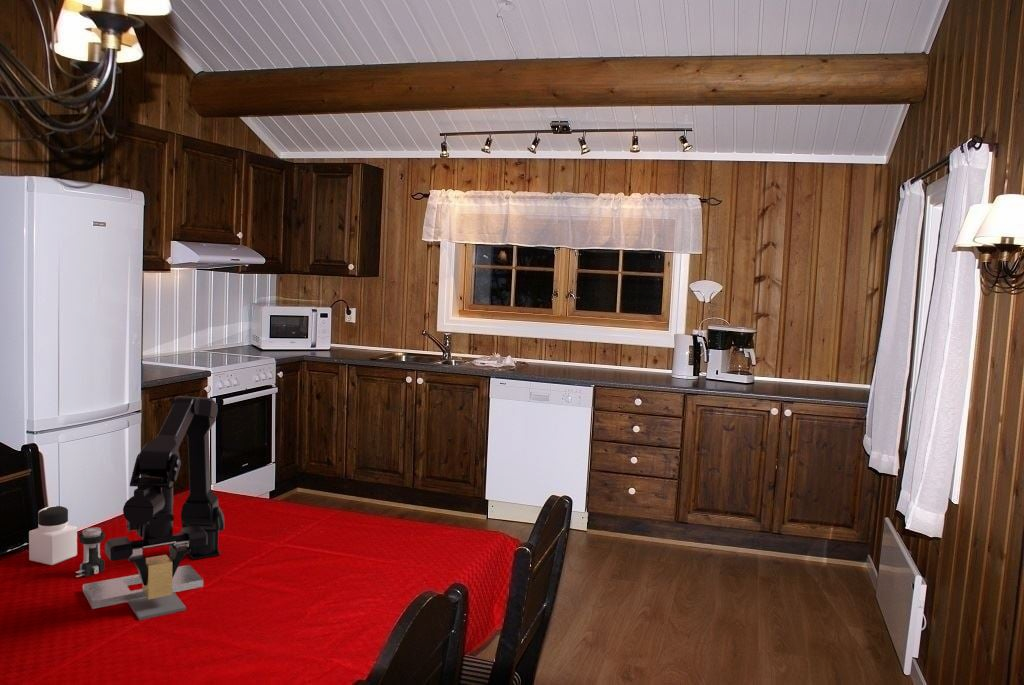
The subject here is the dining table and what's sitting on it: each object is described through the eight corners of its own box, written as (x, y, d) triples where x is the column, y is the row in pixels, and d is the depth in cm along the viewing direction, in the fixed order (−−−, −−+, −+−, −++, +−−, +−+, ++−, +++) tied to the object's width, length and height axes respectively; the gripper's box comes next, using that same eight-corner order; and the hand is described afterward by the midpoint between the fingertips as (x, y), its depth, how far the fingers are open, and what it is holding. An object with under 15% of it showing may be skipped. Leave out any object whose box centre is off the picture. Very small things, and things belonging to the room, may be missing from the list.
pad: (173, 594, 174) (173, 591, 174) (186, 610, 167) (186, 607, 167) (128, 603, 168) (128, 600, 168) (139, 620, 161) (139, 617, 161)
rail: (189, 571, 186) (189, 564, 186) (203, 586, 179) (203, 579, 178) (82, 591, 173) (82, 584, 173) (92, 608, 165) (92, 601, 165)
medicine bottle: (77, 555, 192) (77, 506, 191) (51, 565, 186) (51, 514, 184) (54, 550, 195) (54, 502, 193) (28, 560, 188) (28, 510, 187)
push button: (84, 581, 178) (84, 537, 177) (67, 576, 180) (67, 533, 179) (110, 571, 184) (110, 528, 183) (93, 566, 186) (93, 524, 185)
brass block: (165, 586, 171) (166, 554, 170) (172, 594, 167) (172, 561, 166) (142, 591, 168) (142, 558, 167) (148, 599, 164) (148, 566, 163)
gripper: (192, 492, 178) (192, 561, 179) (98, 504, 166) (99, 578, 168) (209, 506, 169) (208, 578, 170) (111, 520, 157) (111, 597, 159)
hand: (157, 582), depth 167 cm, fingers closed on brass block, 5 cm apart
